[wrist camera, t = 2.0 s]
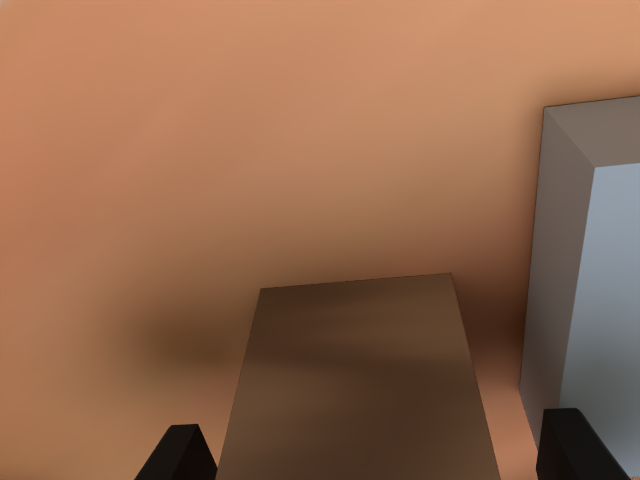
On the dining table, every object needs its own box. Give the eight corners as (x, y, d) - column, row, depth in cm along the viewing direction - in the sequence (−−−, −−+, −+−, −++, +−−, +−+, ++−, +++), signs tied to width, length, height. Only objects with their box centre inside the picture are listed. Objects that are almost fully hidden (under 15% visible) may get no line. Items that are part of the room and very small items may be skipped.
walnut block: (294, 407, 15) (263, 662, 10) (261, 287, 13) (199, 546, 8) (452, 399, 15) (502, 666, 10) (450, 271, 12) (515, 541, 7)
